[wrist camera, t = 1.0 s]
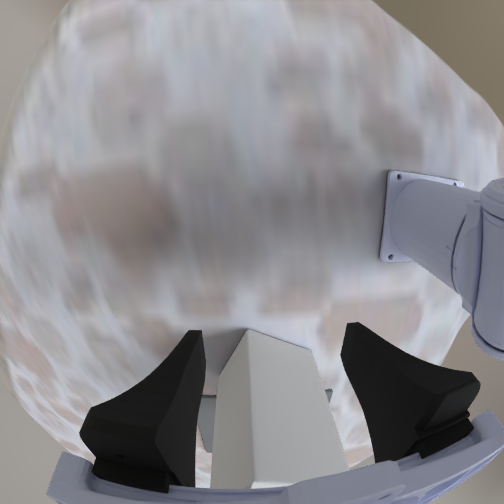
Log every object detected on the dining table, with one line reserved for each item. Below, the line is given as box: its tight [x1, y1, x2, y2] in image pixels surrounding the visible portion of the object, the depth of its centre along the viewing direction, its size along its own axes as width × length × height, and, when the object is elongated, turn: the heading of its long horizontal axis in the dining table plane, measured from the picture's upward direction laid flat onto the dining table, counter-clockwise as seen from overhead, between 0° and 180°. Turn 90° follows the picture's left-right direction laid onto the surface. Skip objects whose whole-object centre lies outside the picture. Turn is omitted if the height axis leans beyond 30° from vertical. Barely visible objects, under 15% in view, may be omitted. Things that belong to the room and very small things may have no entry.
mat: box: [197, 389, 333, 453], centre depth 30 cm, size 16×14×1 cm
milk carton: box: [210, 329, 350, 489], centre depth 17 cm, size 7×7×19 cm
